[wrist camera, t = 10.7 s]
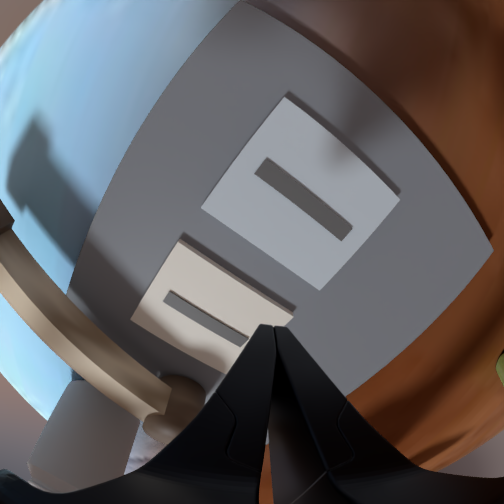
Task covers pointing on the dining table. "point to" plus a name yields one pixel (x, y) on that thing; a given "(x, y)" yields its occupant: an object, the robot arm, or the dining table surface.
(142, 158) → the panel
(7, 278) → the bar
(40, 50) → the dining table surface
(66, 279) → the dining table surface
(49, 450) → the can
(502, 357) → the plant pot
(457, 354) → the dining table surface
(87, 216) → the dining table surface
